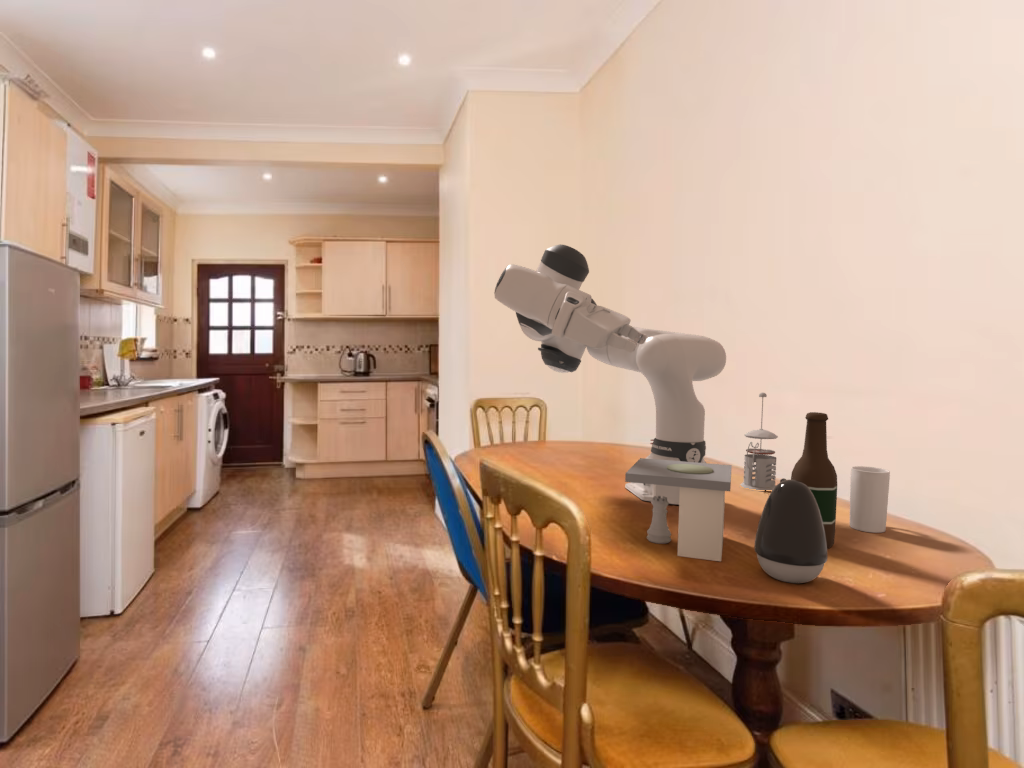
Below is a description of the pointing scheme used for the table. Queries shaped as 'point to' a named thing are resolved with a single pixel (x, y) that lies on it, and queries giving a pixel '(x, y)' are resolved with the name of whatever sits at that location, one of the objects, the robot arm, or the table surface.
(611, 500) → the table surface
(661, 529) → the rook chess piece
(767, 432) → the french press
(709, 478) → the grey pedestal stand
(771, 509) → the dark grey egg speaker
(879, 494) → the mug
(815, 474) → the beer bottle
